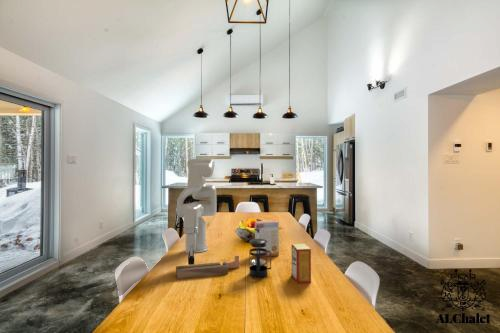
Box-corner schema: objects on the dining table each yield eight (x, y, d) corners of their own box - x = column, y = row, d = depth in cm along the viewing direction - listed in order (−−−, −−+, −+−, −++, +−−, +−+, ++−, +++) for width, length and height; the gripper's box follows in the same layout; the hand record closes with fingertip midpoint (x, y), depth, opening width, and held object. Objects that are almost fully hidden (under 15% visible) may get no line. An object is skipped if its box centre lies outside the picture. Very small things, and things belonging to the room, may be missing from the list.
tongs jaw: (176, 274, 131) (176, 266, 131) (219, 269, 137) (219, 262, 137) (175, 276, 129) (175, 268, 129) (220, 271, 134) (220, 263, 135)
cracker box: (276, 252, 165) (276, 219, 165) (279, 256, 159) (279, 221, 159) (254, 254, 162) (254, 220, 162) (256, 257, 156) (256, 222, 156)
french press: (247, 278, 127) (247, 231, 127) (248, 270, 136) (247, 226, 136) (271, 278, 126) (271, 231, 126) (270, 271, 136) (270, 226, 136)
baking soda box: (291, 275, 130) (291, 243, 130) (304, 274, 131) (304, 242, 131) (297, 283, 121) (297, 248, 121) (310, 282, 122) (310, 248, 122)
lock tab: (225, 267, 140) (225, 255, 140) (238, 266, 142) (238, 254, 142) (226, 268, 138) (226, 256, 138) (239, 267, 140) (238, 255, 140)
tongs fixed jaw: (177, 275, 130) (177, 266, 130) (227, 270, 136) (227, 261, 136) (176, 279, 126) (176, 269, 126) (228, 273, 132) (228, 264, 132)
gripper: (183, 226, 145) (183, 259, 145) (183, 234, 130) (184, 270, 131) (197, 225, 147) (197, 258, 147) (199, 233, 132) (199, 268, 133)
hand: (191, 263), depth 139 cm, fingers closed
